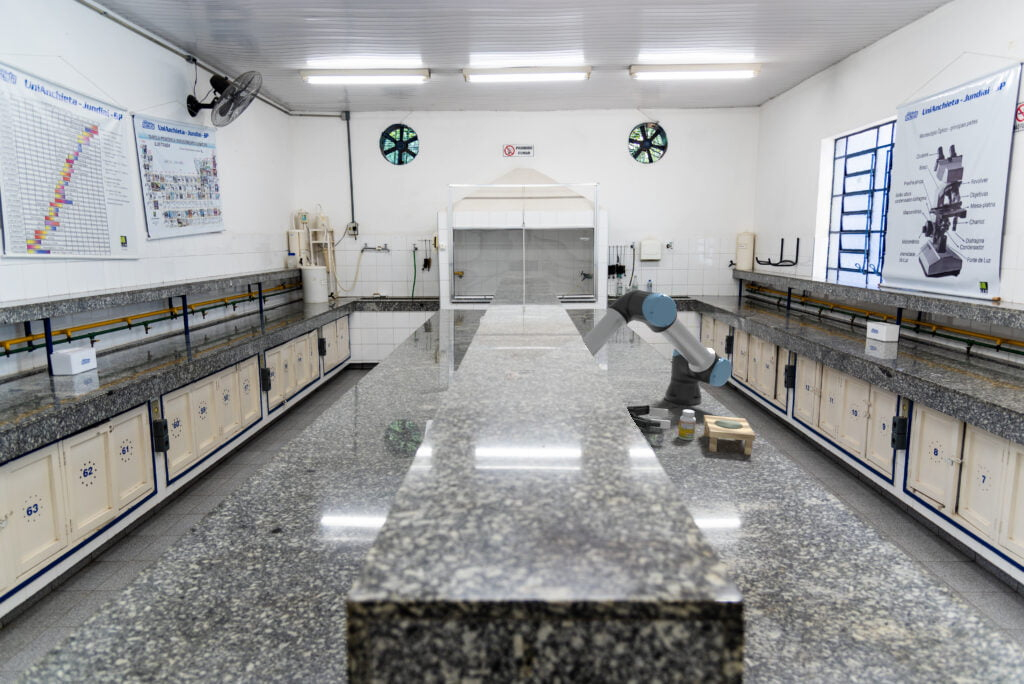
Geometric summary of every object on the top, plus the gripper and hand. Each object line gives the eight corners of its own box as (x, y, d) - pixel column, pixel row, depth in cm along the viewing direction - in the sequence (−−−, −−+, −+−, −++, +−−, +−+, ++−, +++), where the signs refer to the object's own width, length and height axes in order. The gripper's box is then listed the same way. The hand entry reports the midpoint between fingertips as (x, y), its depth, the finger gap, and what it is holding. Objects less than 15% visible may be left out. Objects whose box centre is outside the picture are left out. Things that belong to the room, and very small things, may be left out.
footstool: (702, 433, 220) (704, 414, 218) (743, 437, 217) (745, 418, 216) (708, 451, 202) (710, 430, 201) (753, 455, 200) (755, 434, 198)
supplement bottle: (682, 434, 219) (684, 407, 217) (696, 437, 215) (699, 411, 213) (675, 437, 215) (678, 410, 213) (690, 441, 211) (692, 414, 209)
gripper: (608, 413, 231) (666, 418, 227) (605, 434, 207) (670, 441, 203) (609, 393, 230) (668, 398, 226) (606, 413, 206) (672, 419, 202)
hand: (669, 418), depth 214 cm, fingers open, 13 cm apart
